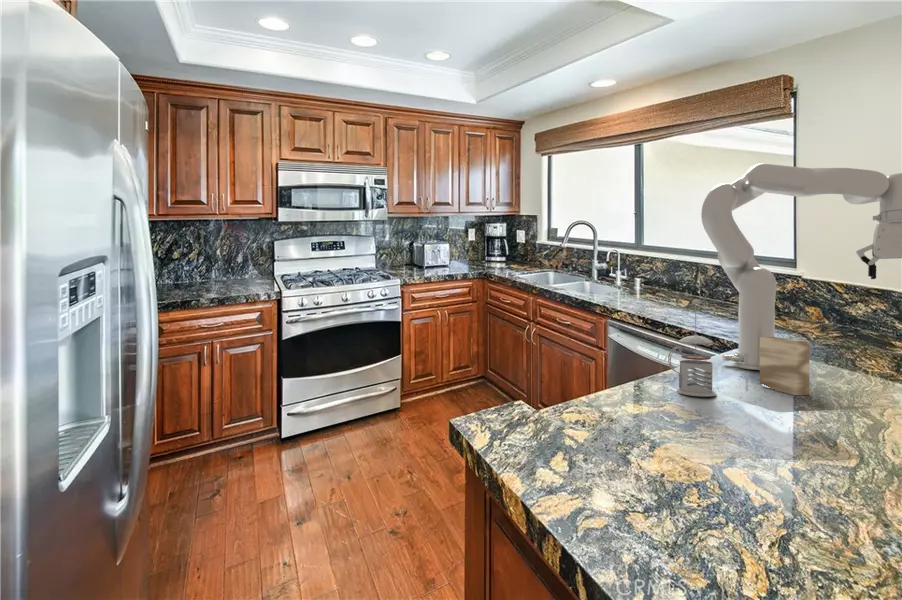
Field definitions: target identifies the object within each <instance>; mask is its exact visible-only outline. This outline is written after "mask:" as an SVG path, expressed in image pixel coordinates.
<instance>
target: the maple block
mask: <svg viewBox="0 0 902 600" xmlns="http://www.w3.org/2000/svg"><path fill="white" fill-rule="evenodd" d="M810 342H811V341H810V340H803V339H795V338H794V339H793V338H785V337H777V336H775V337H760V370H759V383H760V384H764V385H766V386H768V387H770V388H772V389H771V390H773V389H775V390H774V391H777V392H781V393H785V394H790V395H793V396H809V395H810V357H811V356H810Z"/></svg>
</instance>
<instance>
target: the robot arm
mask: <svg viewBox="0 0 902 600" xmlns="http://www.w3.org/2000/svg"><path fill="white" fill-rule="evenodd" d="M765 193H766V194H774V195H775V194H776V195H783V196H791V197H798V198H800V197H801V198H802V197H803V198H805V197H813V196H817V195H842V197H843V199H844V201H845V202H847V203H849V204H850V205H851V204H852V205H864V204H865V205H867V204H870V203H877V202H879V214H877V215H872V221H876V222H878V223H877V224H876V225H875V227H874V233H873V239H872V244H870V245H867V246H865V247H862V248H860V249H858V250H856V251H855V254H857V256H858V257H859V259H860V260H861V261H862V262H863V263H864V264H866V265H867V267H868V268H867V269H868V271H867V276H868V277H870V280H875V279H877V265H876V263H877V262H878V261H879V260H887V259H891V260H892V259H902V172H900V173H898V172H897V173H893V174H889V175H885V174H884V173H883V172H880V171H878V170H871V169H870V170H869V169H859V168H852V167H817V168H816V167H814V168H812V167H799V166H793V165H792V166H790V165H783V164H773V163H772V164H771V163H757V164H755V165H753V166H751V167H750V168H749V169H748V170H746V173H745V174H744V175H742V177H739V178H738V179H736V180H735V181H733V182H731V183H728V182H723V183H719V184H717V185H715V186H714V187H712V188H711V190H709V192H708V193H707V195H706V197H705V199H704V201H703V203H702V206H701V207H702V208H701V214H700V215H701V222H702V226H703V229H704V230H705V232H706V234H707V236H708V238H709V239H710V241H711V243H712V245H713V246H714V248H715V249H716V251H717V260H718V263H719V264H720V266H721V268H722V269H723V271H724V272H725V274H726V276H727V277H728V278H729V280H730V281H731V283H732V284H733V287H734V288H735V289H736V290H737V292H738V315H737V316H738V351H735V352H734V353H733V354H723V355H722V358H721V359H722V361H723V362H732V365H733V364H734V365H735V366H734V365H733V366H734V367H736V366H737V367H736V368H738V367H739V369H744V370H752V371H753V370H756V371H760V337H776V335H775V331H776V329H775V328H776V327H775V326H776V325H775V324H776V322H775V321H776V320H775V319H776V318H775V317H776V316H775V315H776V314H775V310H776V309H775V308H776V307H775V306H776V295H777V281H776V280H777V279H776V277H775V275H774V273H773V272H772V271H770V270H769V269H766V268H765V267H761V266H760V265H759V263H758V261H757V260H756V258H755V250H754V248H753V246H752V244H751V243H750V242H749V240H748V239H747V238H746V236H745V235H744V233H743V232H742V230H741V229H740V228H739V225H738V224H737V222H736V221H735V219H734V216H733V211H734V210H736V209H738V208H741V207H742V206H744V205H746V204H748V203H750V202H751V201H753V200H755V199H757V198H759V197H761V196H762V195H763V194H765ZM869 251H871V254H872V255H871V256H872V258H871V259H870V258H868V256H866V255H865V253H866V252H869Z"/></svg>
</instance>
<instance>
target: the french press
mask: <svg viewBox="0 0 902 600" xmlns="http://www.w3.org/2000/svg"><path fill="white" fill-rule="evenodd" d="M700 303H701V301H700V300H699V299H695V298H694V299H693V300H692V301H691V304H693V305H694V306H695V307H694V311H695V313H694V318H695V321H694V322H695V323H694V324H695V325H694V326H695V328H694V330H695V332H694V333H695V334H694V335H688V336H685V337H683V338H681V339H679V343H680V344H685V345H695V348H694V349H695V350H694V351H695V353H694V354H689V353H688V354H687V353H686V354H682V355H681V356H680V357H681V358H682V359H684V360H679V371H677V370H675V369H674V367H673V365H672V356H673V353H674V352H675V351H676V350H677V349H678V351H679V352H680V353H681V352H682V350H683V348H682V346H680V345H677V346H674V347H673V348H672V349H671V350H670V351H669V353H668V356H667V357H668V359H667V362H668V366H669V367H670V369H671V370H672V371H673V372H675V373H677V374H678V388H676V391H675V392H676V393H677V394H681V395H686V396H692V397H715V396H717V395H718V394H717V393H716V392H715V390H713V362H712V361H708V360H711V359H712V357H711V356H709V355H704V354H697V345H712V344H713V343H714V341H713V340H711V339H709V338H707V337H705V336H702V335H698V334H697V305H698V304H700ZM702 370H703V371H702ZM690 374H691V375H690ZM690 379H691V380H690Z"/></svg>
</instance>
